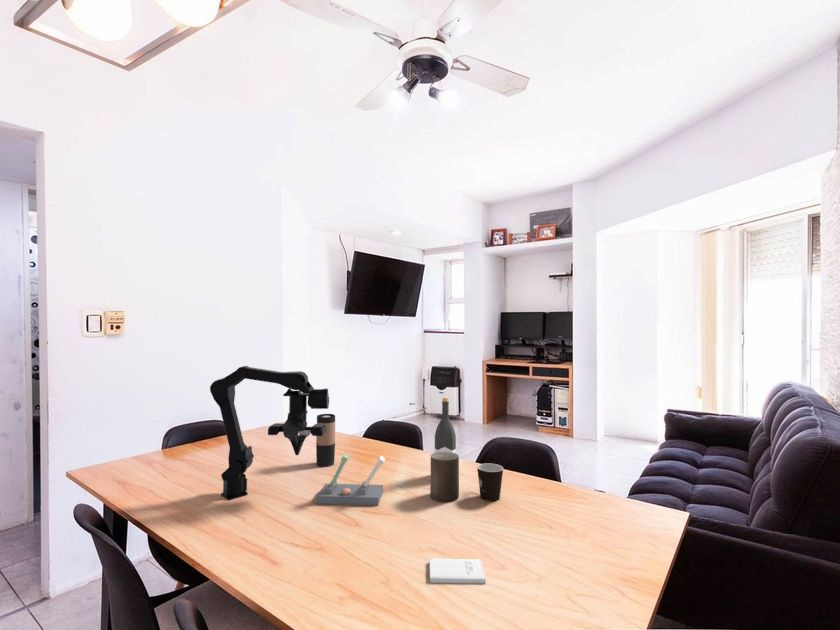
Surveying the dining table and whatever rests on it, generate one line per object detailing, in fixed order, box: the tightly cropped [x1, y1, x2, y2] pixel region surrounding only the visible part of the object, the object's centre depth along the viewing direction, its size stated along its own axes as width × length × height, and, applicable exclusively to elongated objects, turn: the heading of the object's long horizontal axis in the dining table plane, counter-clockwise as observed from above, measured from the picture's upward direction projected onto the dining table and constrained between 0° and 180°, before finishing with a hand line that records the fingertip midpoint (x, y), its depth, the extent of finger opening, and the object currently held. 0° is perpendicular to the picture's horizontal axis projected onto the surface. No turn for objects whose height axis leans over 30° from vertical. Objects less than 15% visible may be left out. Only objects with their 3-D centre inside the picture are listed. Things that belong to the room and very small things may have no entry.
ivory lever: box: [361, 455, 386, 489], centre depth 141 cm, size 2×4×12 cm
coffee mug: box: [476, 462, 504, 503], centre depth 144 cm, size 12×9×10 cm
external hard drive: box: [428, 558, 487, 584], centre depth 98 cm, size 2×8×12 cm
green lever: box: [327, 452, 351, 489], centre depth 141 cm, size 2×4×12 cm, turn 176°
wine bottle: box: [434, 396, 457, 454], centre depth 162 cm, size 8×8×30 cm
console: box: [315, 480, 384, 507], centre depth 141 cm, size 20×11×4 cm, turn 88°
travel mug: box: [315, 413, 336, 468], centre depth 176 cm, size 8×8×20 cm
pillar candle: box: [429, 452, 460, 503], centre depth 143 cm, size 10×10×15 cm
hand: (297, 454), depth 144 cm, fingers closed
